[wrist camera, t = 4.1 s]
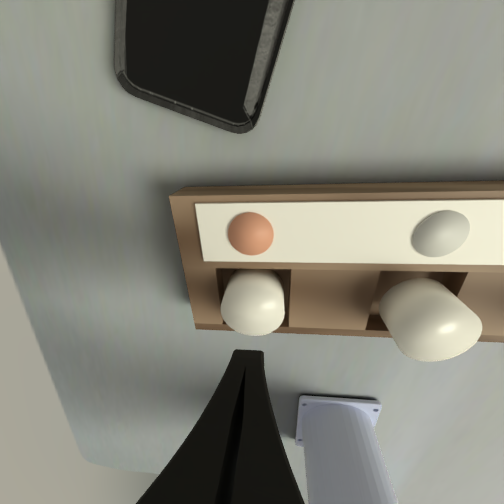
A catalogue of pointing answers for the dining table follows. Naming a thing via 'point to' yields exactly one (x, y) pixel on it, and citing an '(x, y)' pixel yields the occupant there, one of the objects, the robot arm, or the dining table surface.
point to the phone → (201, 55)
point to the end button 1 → (253, 301)
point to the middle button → (428, 320)
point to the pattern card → (354, 231)
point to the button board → (335, 274)
